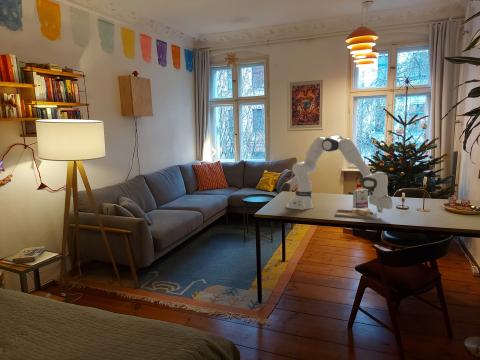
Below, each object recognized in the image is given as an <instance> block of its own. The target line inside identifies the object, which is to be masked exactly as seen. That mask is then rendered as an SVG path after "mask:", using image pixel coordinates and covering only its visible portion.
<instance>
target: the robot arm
mask: <svg viewBox="0 0 480 360" xmlns="http://www.w3.org/2000/svg"><path fill="white" fill-rule="evenodd" d="M337 150H338V151H340V152H341V155H342V156H343V158H344V159H345V160H346V162H348V163H349V164H351V165H353V166H355V167H356V168H357V170H358V171H359V173H360V174H361V175H362V179H361V181H360V186H361V187H362V189H367V190H373V191H368V204H369V205H373V206H376V209H377V212H378V213H381V214H382V213H383V211H384V209H386V210H391V209H393V198H392V197H391V196H390V195H388V185H389V179H388V177H389V176H388V174H387V173H386V172H383V171H376V172H374V173H373V172H372V171H371V170H370V169H369V167H368V166H367V164H366V163H365V161H364V160H363V159H364V158H363V157H362V155H361V153H360V151H359V149H358V148H357V146H356V144H355V142H353V141H352V140H351V139H350V138H349V137H345V138H343V137H342V136H341V135H338V134H335V135H331V136H328V137H324V136H317V137H316V138H315V139H314V140H313V142H311V145H310V146H309V148H308V149H307V151H306V152H305V160H303V161H298V162H295V163H294V164H293V165H292V167H291V171H292V173H293V174H294V176H295V177H296V180H297V189H296V191H295V195H293V196H292V197H291V198H290V199H288V200H289V201H288V203H287V204H286V205H285V208H287V209H293V210H301V211H303V210H311V209H313V208H314V206H313V201H312V199H313V198H312V197H313V192H312V180H310V178H309V175H310V174H312V173H314V172H316V171H317V169H318V167H317V166H318V165H317V164H318V161H319V159H320V158H321V156H322V154H323V153H324V152H330V153H331V152H334V151H337Z"/></svg>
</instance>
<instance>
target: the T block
mask: <svg viewBox="0 0 480 360" xmlns="http://www.w3.org/2000/svg"><path fill="white" fill-rule="evenodd" d="M352 210H353V211H352V215H355V216H368V217H369V216H370V212H371V207H368V208H364V209H361V208H353V207H352Z"/></svg>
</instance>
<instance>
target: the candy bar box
mask: <svg viewBox="0 0 480 360" xmlns="http://www.w3.org/2000/svg"><path fill="white" fill-rule="evenodd" d="M353 208H361V209H364V208H369V189H365V188H358V189H353V191H352V209H353Z"/></svg>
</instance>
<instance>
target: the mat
mask: <svg viewBox="0 0 480 360" xmlns="http://www.w3.org/2000/svg"><path fill="white" fill-rule="evenodd" d="M352 211H353V209H352V210H350V209H341V208H340V209H339V208H337V210H336V211H335V213H334V215H333V216H332V217H333V218H339V219H340V218H341V219H354V220H365V221H366V220H367V221H377V217H378V213H376V212H375V213H374V211H370V216H369V217H368V216H355V215H352Z"/></svg>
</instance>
